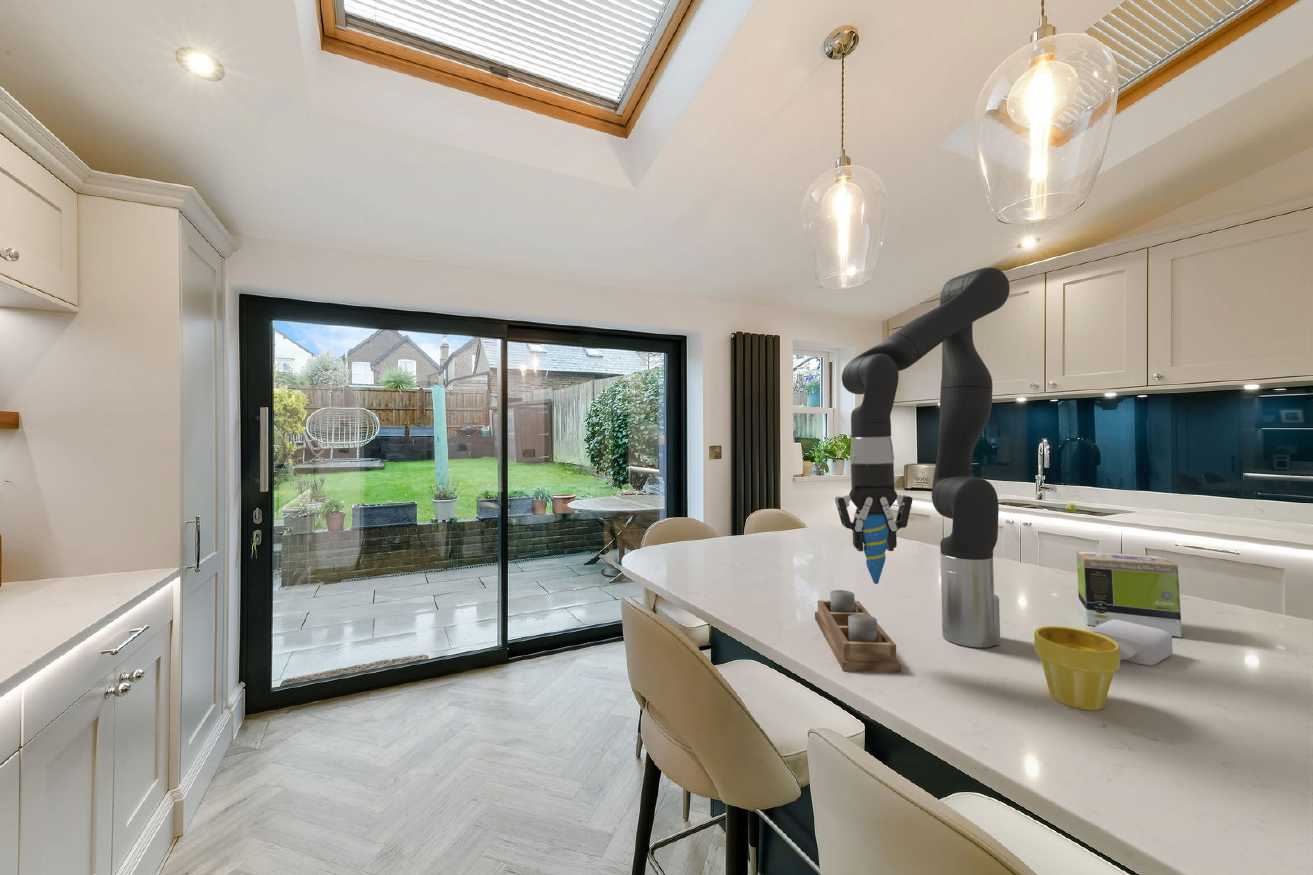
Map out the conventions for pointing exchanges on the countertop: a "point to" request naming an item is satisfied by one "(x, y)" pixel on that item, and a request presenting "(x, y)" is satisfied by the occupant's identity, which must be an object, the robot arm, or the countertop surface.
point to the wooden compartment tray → (855, 635)
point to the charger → (1137, 641)
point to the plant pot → (1077, 665)
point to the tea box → (1129, 590)
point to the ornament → (875, 544)
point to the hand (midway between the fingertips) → (874, 550)
